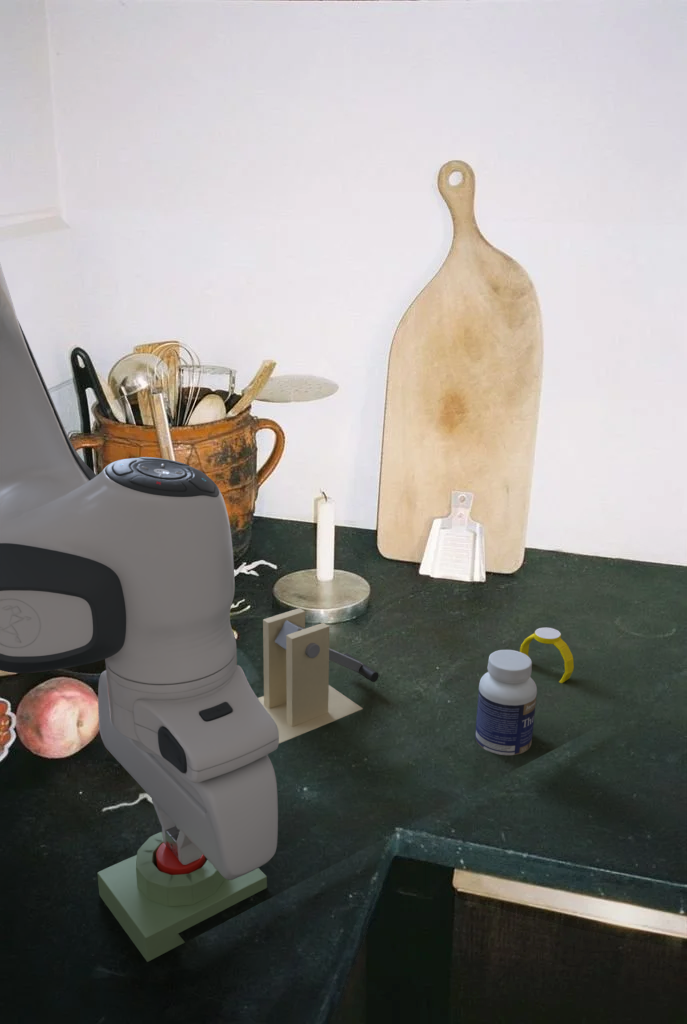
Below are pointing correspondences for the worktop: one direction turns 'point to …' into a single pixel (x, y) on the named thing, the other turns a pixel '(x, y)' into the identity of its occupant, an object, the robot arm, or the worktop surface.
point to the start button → (175, 862)
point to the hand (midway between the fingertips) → (182, 851)
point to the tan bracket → (300, 678)
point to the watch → (554, 638)
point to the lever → (330, 653)
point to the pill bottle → (506, 704)
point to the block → (168, 897)
